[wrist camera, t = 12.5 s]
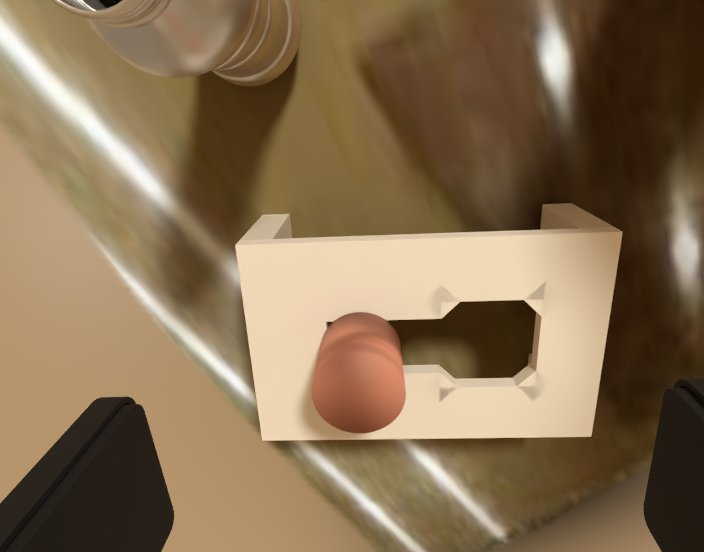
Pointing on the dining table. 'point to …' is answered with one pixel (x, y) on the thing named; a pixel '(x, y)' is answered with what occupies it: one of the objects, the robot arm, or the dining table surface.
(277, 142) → the dining table surface
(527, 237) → the keyhole plate
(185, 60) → the plastic bottle
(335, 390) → the peg
